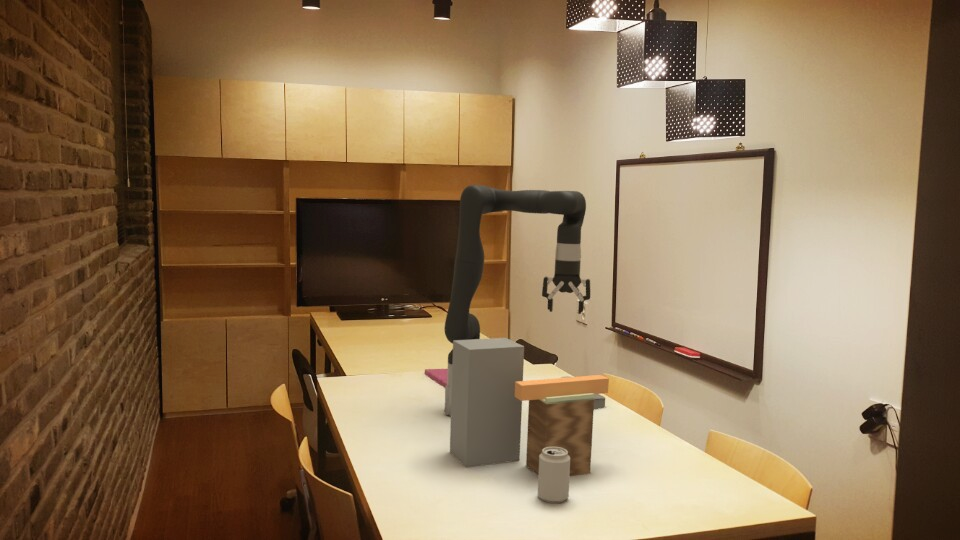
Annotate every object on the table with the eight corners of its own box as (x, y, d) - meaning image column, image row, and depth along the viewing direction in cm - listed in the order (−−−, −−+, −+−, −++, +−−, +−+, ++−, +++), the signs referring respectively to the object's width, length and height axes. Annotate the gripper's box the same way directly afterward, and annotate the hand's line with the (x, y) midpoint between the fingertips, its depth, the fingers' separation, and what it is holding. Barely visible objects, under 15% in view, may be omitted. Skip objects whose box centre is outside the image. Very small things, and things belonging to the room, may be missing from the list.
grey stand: (465, 467, 196) (469, 349, 192) (449, 452, 207) (453, 340, 203) (519, 460, 202) (524, 346, 199) (501, 446, 213) (505, 337, 210)
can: (535, 491, 182) (537, 444, 181) (564, 491, 183) (567, 444, 181) (540, 504, 174) (542, 455, 173) (571, 504, 175) (573, 455, 174)
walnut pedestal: (543, 479, 190) (546, 404, 187) (526, 465, 199) (529, 393, 196) (590, 473, 195) (594, 399, 193) (571, 459, 204) (574, 389, 202)
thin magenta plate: (424, 365, 292) (485, 362, 304) (423, 375, 293) (484, 371, 304) (465, 390, 256) (533, 385, 268) (465, 402, 257) (532, 396, 269)
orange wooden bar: (521, 400, 188) (522, 385, 187) (514, 396, 191) (515, 381, 191) (607, 392, 198) (608, 378, 197) (599, 389, 202) (600, 374, 201)
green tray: (546, 404, 187) (547, 398, 187) (529, 393, 196) (529, 388, 196) (594, 399, 193) (594, 394, 193) (574, 389, 202) (574, 384, 202)
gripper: (542, 258, 216) (540, 312, 217) (591, 260, 213) (588, 316, 215) (545, 256, 223) (543, 309, 225) (592, 258, 220) (590, 312, 222)
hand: (565, 312), depth 220 cm, fingers open, 8 cm apart
